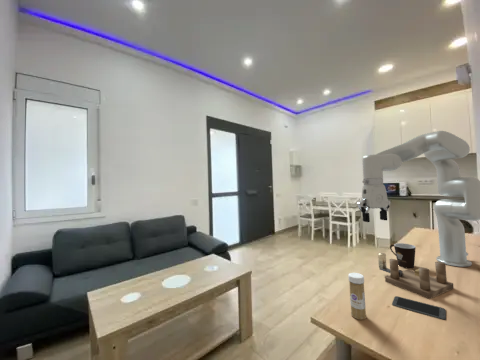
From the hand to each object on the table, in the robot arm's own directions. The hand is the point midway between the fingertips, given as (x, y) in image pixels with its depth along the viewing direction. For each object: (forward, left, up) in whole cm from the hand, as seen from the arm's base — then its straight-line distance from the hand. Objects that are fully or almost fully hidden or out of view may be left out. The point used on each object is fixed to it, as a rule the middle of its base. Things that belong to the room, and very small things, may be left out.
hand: (375, 220), depth 97 cm
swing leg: (-6, +2, -23) cm, 24 cm away
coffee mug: (-25, -4, -26) cm, 36 cm away
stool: (-8, +11, -26) cm, 29 cm away
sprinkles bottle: (+30, +14, -26) cm, 42 cm away
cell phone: (+9, +20, -26) cm, 34 cm away
